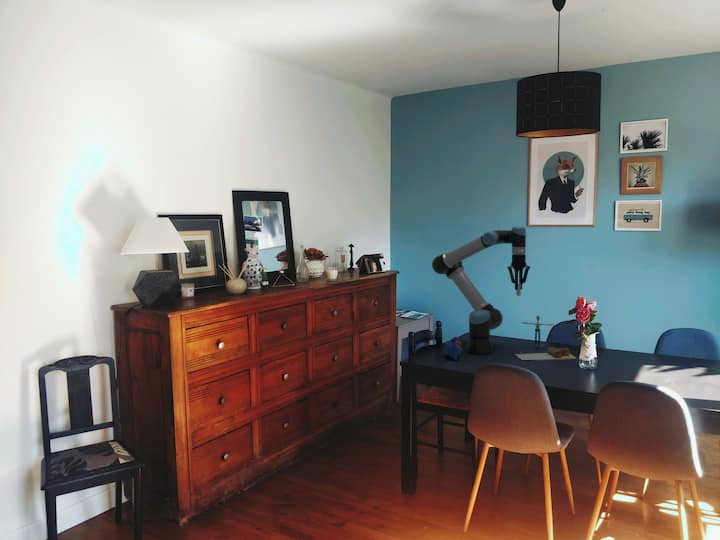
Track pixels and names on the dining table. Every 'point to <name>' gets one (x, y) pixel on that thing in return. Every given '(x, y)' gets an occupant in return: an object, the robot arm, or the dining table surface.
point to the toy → (453, 347)
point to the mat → (542, 357)
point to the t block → (558, 352)
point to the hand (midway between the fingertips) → (518, 295)
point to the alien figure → (537, 331)
